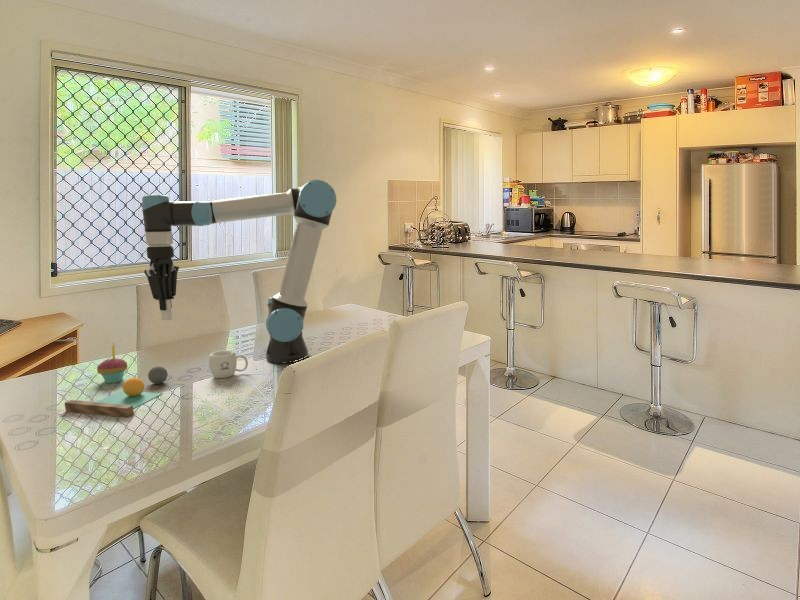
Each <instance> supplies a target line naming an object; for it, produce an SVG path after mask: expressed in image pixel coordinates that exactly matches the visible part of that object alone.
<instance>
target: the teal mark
mask: <svg viewBox="0 0 800 600" xmlns="http://www.w3.org/2000/svg"><path fill="white" fill-rule="evenodd" d="M162 395H163V393H160V392H150V391H149V392H147V391H143V392H142V393H141V394H140V395H138V396H135V397H131V396H128V395H126V394H125V393H124V391H123V389H122V390H120V391H118V392H115V393H112V394H111V395H108V396H106V397H104V398H102V399H100V400H97V401H96V402H100V403H111V404H122V405H133V410H134V409H136V408H138V407H140V406H142V405H144V404H146V403H147V402H149V401H152V400H153V399H155V398H158V397H160V396H162Z"/></svg>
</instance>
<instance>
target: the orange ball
mask: <svg viewBox="0 0 800 600" xmlns="http://www.w3.org/2000/svg"><path fill="white" fill-rule="evenodd" d="M122 390H123V391H124V393H125V394H126V395H128V396H131V397H135V396H138V395H140V394H141V393H142V392H144V390H145V383H144V380H142V379H141V378H139V377H131V378H127V379H126V381H124V383H123V385H122Z"/></svg>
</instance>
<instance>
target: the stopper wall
mask: <svg viewBox="0 0 800 600" xmlns="http://www.w3.org/2000/svg"><path fill="white" fill-rule="evenodd" d="M64 408H65V409H64V410H65V412H67V411H70V412H69V413H77V414H78V413H79V414H88V415H89V414H90V415H100V416H110V417H120V418H130V417H132V416H134V415H135V411H134V409H133V405H122V404H111V403H100V402H97V401H86V400H74V399H70V400H67V401H65V402H64Z"/></svg>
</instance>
